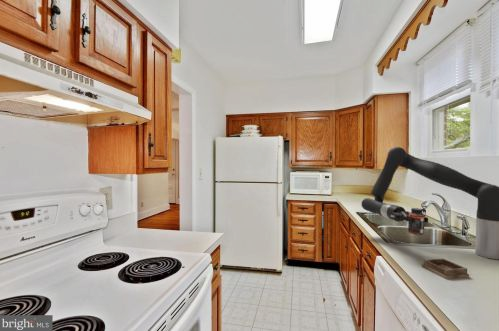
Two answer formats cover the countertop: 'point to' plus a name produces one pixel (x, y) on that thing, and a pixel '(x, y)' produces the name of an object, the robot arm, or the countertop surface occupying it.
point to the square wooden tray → (445, 268)
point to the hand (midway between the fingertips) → (421, 220)
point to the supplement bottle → (416, 222)
